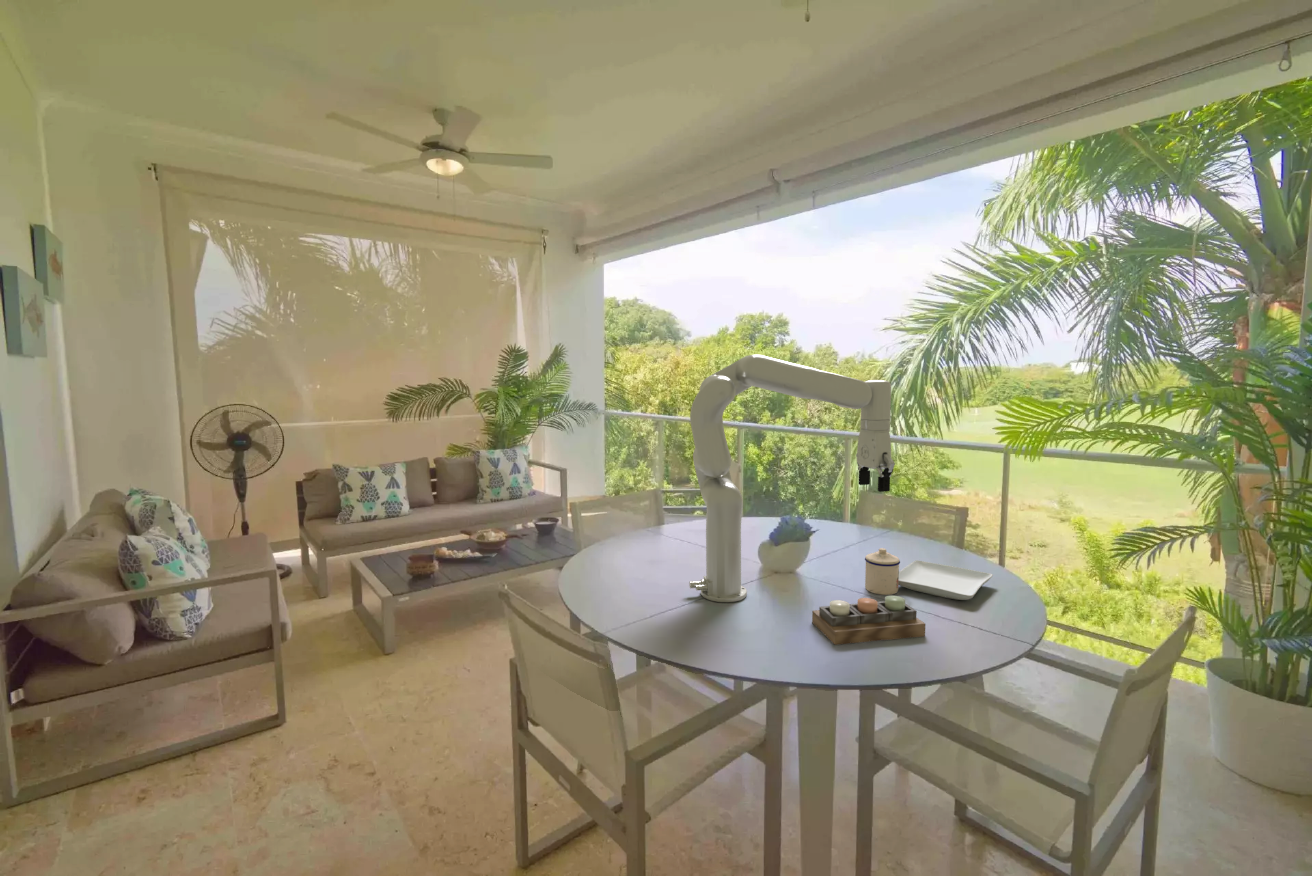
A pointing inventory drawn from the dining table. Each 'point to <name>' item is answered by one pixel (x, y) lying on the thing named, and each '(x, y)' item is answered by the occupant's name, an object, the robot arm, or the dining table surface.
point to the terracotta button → (867, 605)
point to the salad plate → (942, 580)
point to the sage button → (894, 603)
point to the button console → (868, 624)
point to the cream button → (839, 608)
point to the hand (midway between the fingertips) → (873, 487)
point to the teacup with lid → (882, 572)
